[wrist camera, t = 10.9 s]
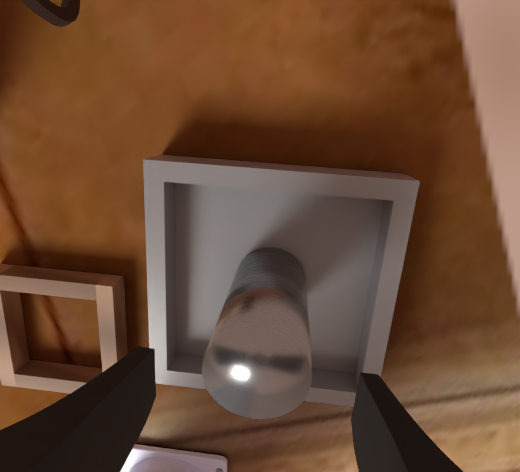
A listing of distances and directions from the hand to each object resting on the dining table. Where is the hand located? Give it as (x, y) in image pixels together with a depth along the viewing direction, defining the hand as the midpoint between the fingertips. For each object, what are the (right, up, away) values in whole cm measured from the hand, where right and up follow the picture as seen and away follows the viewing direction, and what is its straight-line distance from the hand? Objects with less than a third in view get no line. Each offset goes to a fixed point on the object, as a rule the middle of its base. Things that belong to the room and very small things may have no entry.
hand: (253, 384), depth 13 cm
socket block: (-12, -1, +11) cm, 17 cm away
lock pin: (+1, +3, +8) cm, 9 cm away
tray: (+1, +3, +9) cm, 9 cm away
